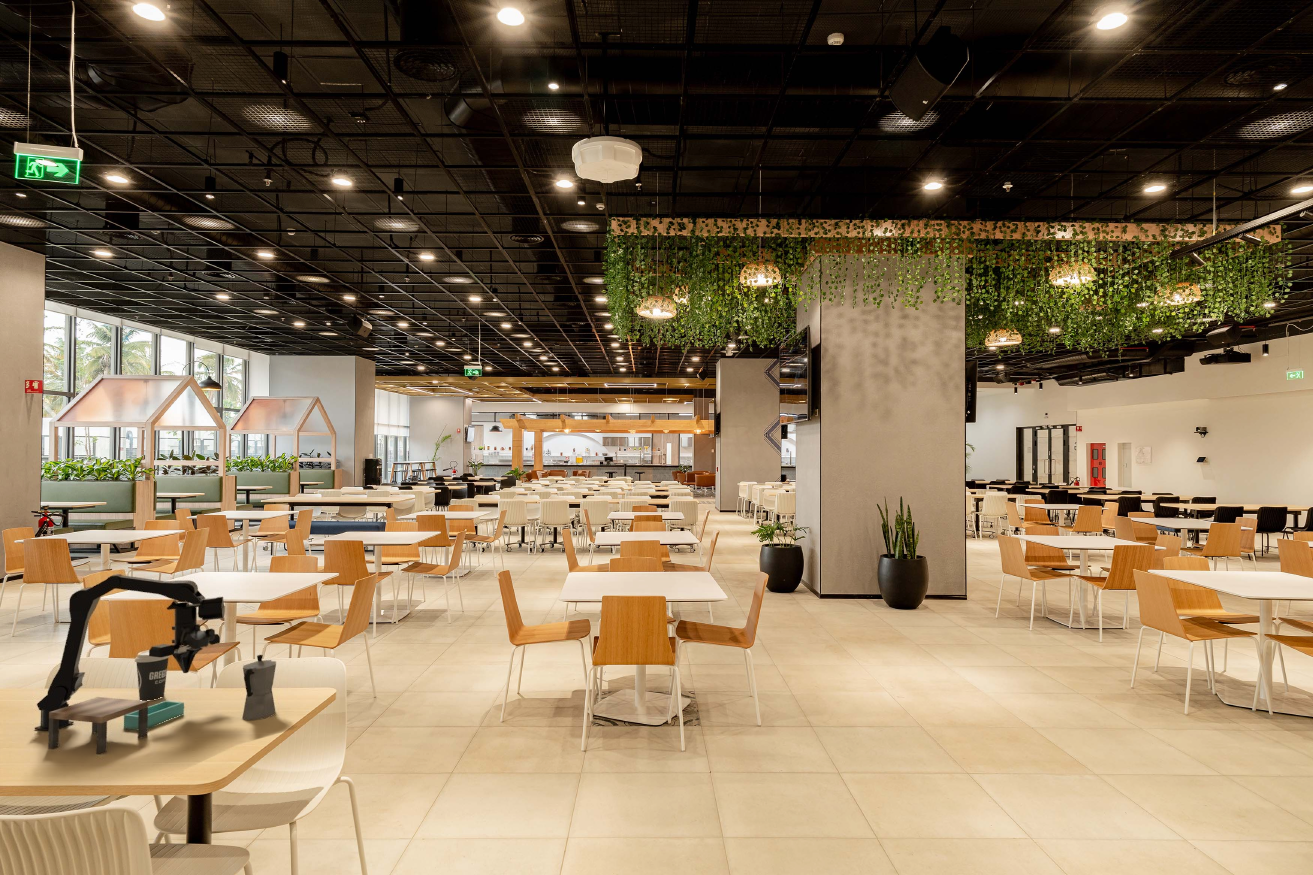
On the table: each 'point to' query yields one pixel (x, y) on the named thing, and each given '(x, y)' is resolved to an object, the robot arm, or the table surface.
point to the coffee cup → (151, 675)
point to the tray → (155, 714)
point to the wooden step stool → (98, 718)
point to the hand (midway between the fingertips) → (185, 672)
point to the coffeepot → (259, 689)
